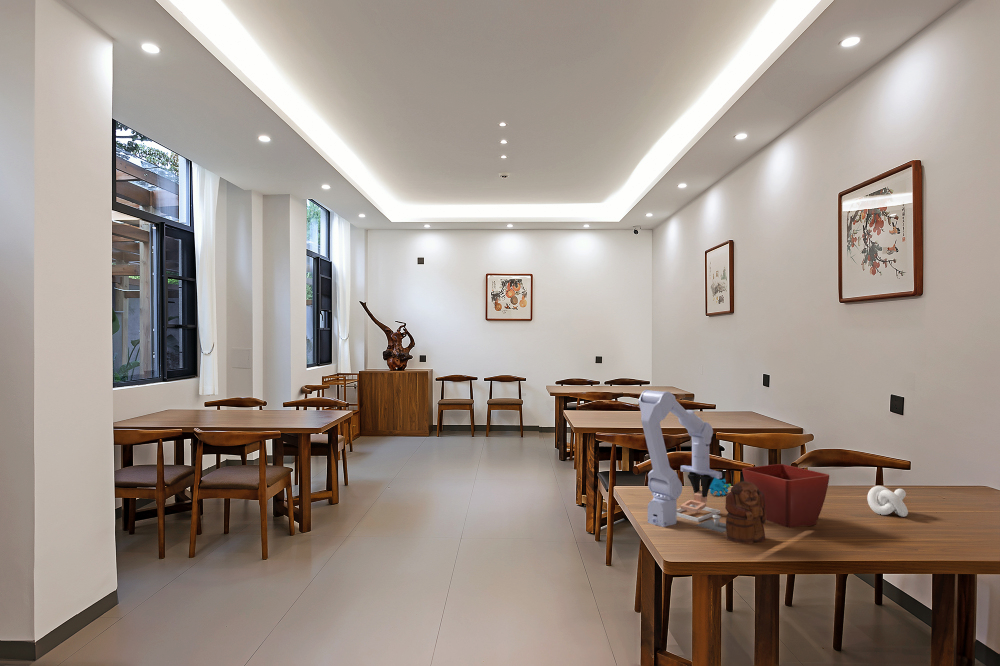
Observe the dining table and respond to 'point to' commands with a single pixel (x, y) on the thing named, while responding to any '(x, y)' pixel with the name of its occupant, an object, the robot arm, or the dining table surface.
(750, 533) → the wooden figurine
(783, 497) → the plant pot
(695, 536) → the dining table surface
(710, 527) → the grey plate with knob
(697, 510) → the ring
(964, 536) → the dining table surface
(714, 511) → the tray
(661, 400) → the robot arm
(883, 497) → the white knot sculpture
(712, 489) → the gear
